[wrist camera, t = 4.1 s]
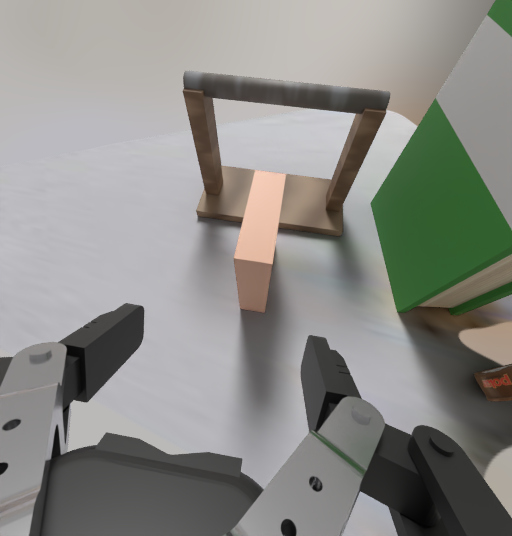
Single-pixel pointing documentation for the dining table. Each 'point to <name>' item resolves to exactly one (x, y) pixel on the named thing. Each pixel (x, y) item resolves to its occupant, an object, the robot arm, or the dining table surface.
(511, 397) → the tin
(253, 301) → the pink c-shaped hook
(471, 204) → the hardback book
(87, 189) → the dining table surface
